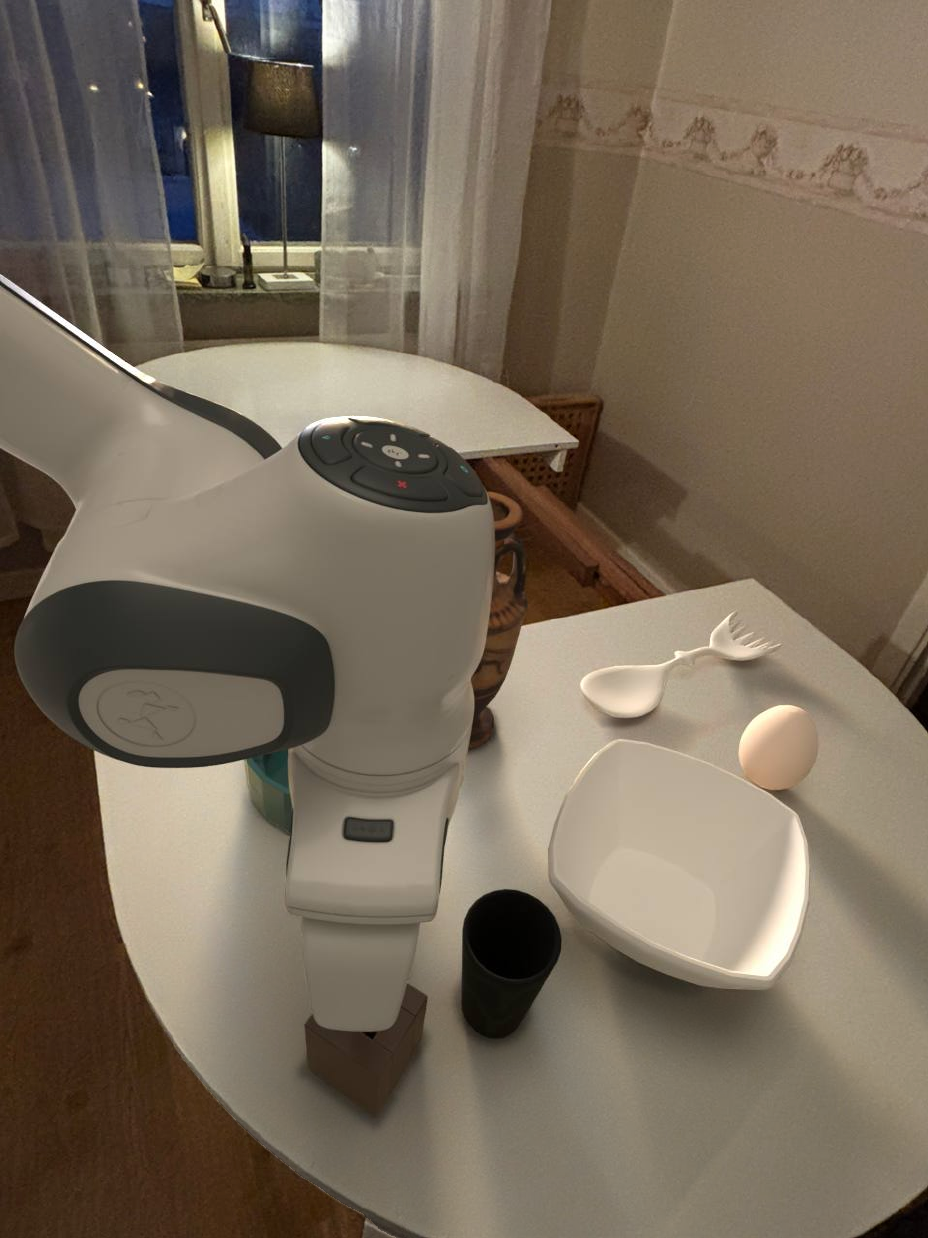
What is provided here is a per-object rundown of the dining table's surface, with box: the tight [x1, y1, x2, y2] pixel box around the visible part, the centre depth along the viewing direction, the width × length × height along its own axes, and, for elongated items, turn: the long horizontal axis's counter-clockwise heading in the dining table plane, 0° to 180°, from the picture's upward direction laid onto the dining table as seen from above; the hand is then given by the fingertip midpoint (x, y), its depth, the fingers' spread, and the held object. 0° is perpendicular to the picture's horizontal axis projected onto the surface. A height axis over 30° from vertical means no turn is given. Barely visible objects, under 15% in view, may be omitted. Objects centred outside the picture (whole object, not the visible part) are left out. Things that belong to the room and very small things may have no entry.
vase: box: [468, 490, 529, 750], centre depth 80 cm, size 11×11×30 cm
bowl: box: [547, 738, 811, 991], centre depth 69 cm, size 22×22×12 cm
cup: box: [460, 888, 563, 1040], centre depth 60 cm, size 8×8×12 cm
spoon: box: [579, 610, 783, 719], centre depth 99 cm, size 9×32×4 cm, turn 122°
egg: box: [738, 704, 819, 791], centre depth 84 cm, size 8×8×11 cm
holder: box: [304, 982, 429, 1119], centre depth 57 cm, size 7×7×8 cm
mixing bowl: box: [243, 749, 293, 833], centre depth 79 cm, size 17×17×7 cm
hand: (371, 896), depth 45 cm, fingers closed on stick, 2 cm apart
